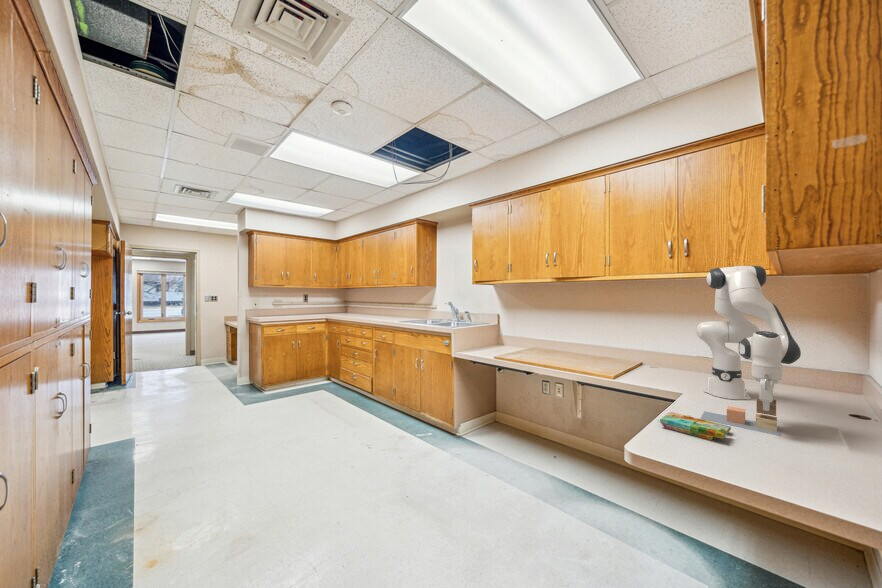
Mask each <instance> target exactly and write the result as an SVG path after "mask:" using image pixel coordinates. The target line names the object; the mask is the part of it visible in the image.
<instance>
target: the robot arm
mask: <svg viewBox="0 0 882 588" xmlns="http://www.w3.org/2000/svg"><path fill="white" fill-rule="evenodd" d="M767 277H768V276H767V271H766V270H765V268H764V267H763V266H759V265H751V266H750V265H735V266H728V267H727V266H726V267H714V268H711V269H710V270H708V272H707V275H706V283H707V286H708V287H709V288H711V289H712V290H713V289H714V290H715V292H714V293H715V294H714V311H715V312H716V313H717V314H718V315H719V316H722V317H724V318H726V319H728V321H719V320H717V321H715V320H714V321H713V320H712V321H711V320H708V321H702V322H699V323H698V325H696V330H695V332H696V336H697V337H698V338H699V339H700V340H701V341H703V342H704V343H705V344H707V346H708V347H709V348H710V351H711V353H712V365H713V366H712V367H711V376H709V377H708V378H707V380H708V381H707V382H708V383H707V388H705V389H703V393H706V394H710V395H711V396H714V397H717V398H718V397H719V398H722V399H727V400H728V399H729V400H751V396H750V395H749V394H748V393H747V392H746V391H747V389H746V382H745V381H744V380H743V379H742V377H743V376H742V374H743V373H742V370H741V365H742V364H741V359H742V358H743V359H745V360H748V361H751V364H750V365H751V369H750V370H751V371H750V372H751V376H752V377H753V378H755V381H756V382H758V383H759V394H758V395H759V396H758V397H759V398H760V400H761V401H762V402H763V410H765V411H769V407H770V402H773V399H774V388H775V384H776V385H777V384H778V383H779V381H782V380H783V365H784V364H785V365H791V364H793V363H795V362H797V361H798V360H799V359H801V356H802V355H801V354H802V351H801V348H800V346H799V344H798V343H797V341H796V340H795V338H794V337H793V336H792V334H791V331H790V330H789V327H788V326H787V323H786V321H785V319H784V317H783V316H782V313H781V312H780V310H779V309H778V306H777V305H776V304H774V303H771V302H770V301H769V300H768V299H767V298H766V297H765V296H764V294H763V290H762V286H764V285H765V284H766V282H767ZM745 314H747V315H750V316H754V317H756V318H759V319H762V320H763V321H765V322H766V323H767V324H768V326H769V328H770V330H771V331H766V330H760V329H759V327H758V326H757V325H756V324H754V323H753V322H752V321H750V320H749V319H748V318H747V317H746V315H745ZM727 343H729V344H738V352H737V351H735V350H733V349H731V348H728V347H727V346H726V344H727ZM741 357H742V358H741Z"/></svg>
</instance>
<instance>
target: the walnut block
mask: <svg viewBox="0 0 882 588" xmlns="http://www.w3.org/2000/svg"><path fill="white" fill-rule="evenodd" d="M756 413H757V414H762V415H768V416H773V417H777V399H774V398H773V402H770V407H769V411H765V410H763V402H762V401H761V400H760V398H759V396H756ZM756 413H755V414H756Z"/></svg>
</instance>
